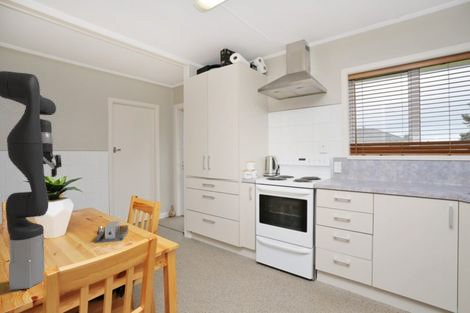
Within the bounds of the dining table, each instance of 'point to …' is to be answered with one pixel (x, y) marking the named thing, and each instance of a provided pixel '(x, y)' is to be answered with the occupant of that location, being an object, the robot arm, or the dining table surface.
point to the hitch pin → (100, 229)
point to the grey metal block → (112, 230)
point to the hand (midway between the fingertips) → (43, 177)
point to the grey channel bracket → (119, 238)
